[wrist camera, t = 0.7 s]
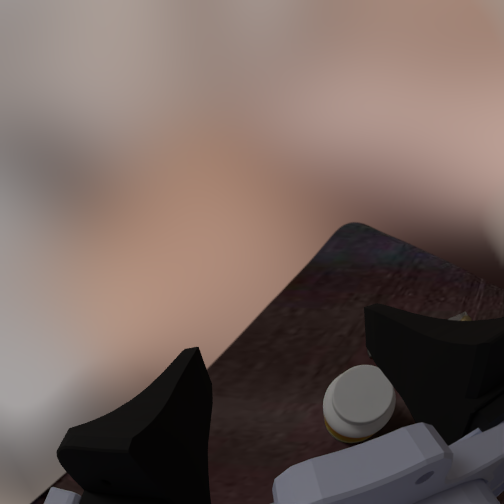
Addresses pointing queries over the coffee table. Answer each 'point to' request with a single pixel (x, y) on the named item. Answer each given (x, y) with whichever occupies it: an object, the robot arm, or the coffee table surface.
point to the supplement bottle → (358, 404)
